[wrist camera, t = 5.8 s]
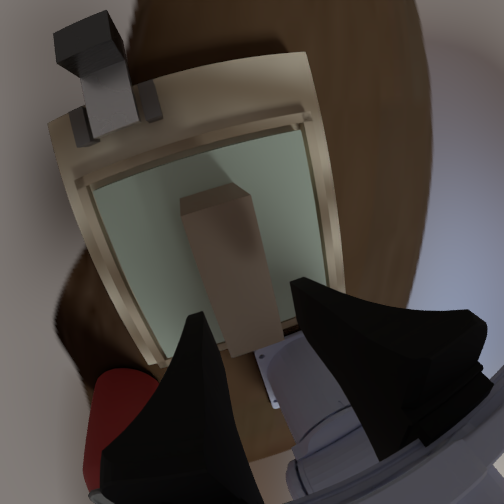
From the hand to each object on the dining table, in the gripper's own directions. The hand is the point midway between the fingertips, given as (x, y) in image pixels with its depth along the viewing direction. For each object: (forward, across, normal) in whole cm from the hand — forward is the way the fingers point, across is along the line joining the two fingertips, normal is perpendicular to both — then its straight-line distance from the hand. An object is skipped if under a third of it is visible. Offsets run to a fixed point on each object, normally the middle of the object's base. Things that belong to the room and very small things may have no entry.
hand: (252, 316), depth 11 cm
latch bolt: (+6, +4, -11) cm, 13 cm away
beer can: (+10, +12, +11) cm, 19 cm away
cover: (+7, 0, 0) cm, 7 cm away
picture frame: (+9, 0, -2) cm, 10 cm away
